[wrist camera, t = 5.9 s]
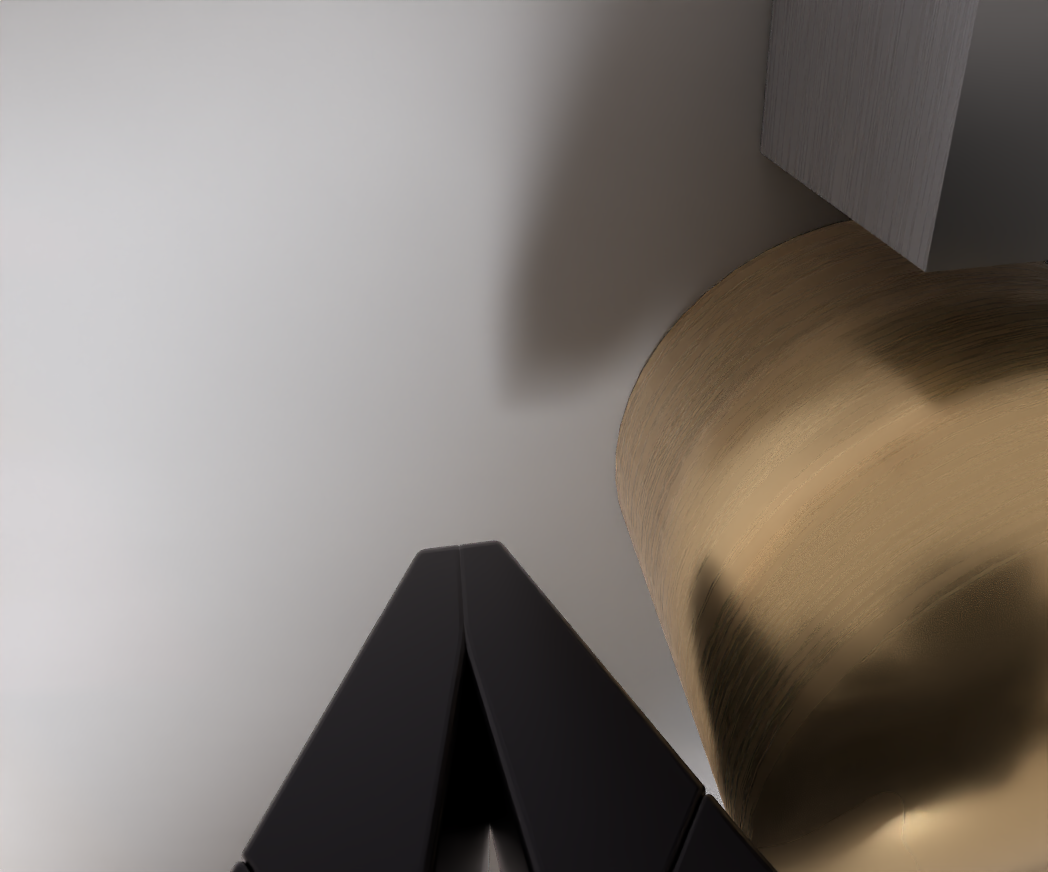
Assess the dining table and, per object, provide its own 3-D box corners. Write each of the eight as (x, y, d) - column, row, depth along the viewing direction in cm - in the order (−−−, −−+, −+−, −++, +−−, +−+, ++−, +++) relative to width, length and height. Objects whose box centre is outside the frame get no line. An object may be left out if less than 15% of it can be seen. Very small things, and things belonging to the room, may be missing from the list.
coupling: (1022, 581, 11) (1337, 931, 7) (626, 645, 11) (742, 1038, 7) (1128, 178, 8) (1716, 407, 5) (600, 255, 8) (768, 561, 4)
